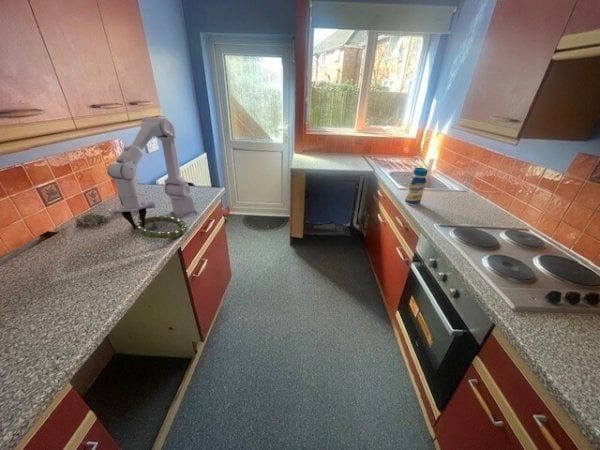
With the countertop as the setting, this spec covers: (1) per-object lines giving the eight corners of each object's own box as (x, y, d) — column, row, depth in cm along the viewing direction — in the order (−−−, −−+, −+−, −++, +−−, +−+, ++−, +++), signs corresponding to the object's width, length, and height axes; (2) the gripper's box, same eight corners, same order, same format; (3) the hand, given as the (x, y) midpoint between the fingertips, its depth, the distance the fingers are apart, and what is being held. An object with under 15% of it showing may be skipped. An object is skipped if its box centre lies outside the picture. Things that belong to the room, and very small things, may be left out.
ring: (182, 219, 115) (182, 214, 114) (191, 237, 101) (191, 232, 100) (134, 220, 104) (134, 215, 103) (137, 241, 90) (137, 235, 90)
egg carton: (74, 225, 108) (70, 217, 107) (91, 218, 115) (88, 210, 113) (93, 229, 106) (89, 221, 104) (109, 222, 112) (106, 213, 110)
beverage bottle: (421, 202, 145) (430, 168, 135) (418, 207, 138) (428, 172, 129) (406, 199, 149) (414, 166, 139) (402, 203, 142) (411, 169, 133)
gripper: (104, 202, 85) (117, 236, 91) (152, 195, 92) (161, 227, 98) (105, 195, 90) (117, 228, 96) (150, 189, 97) (159, 220, 103)
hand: (139, 227), depth 97 cm, fingers closed on ring, 2 cm apart
